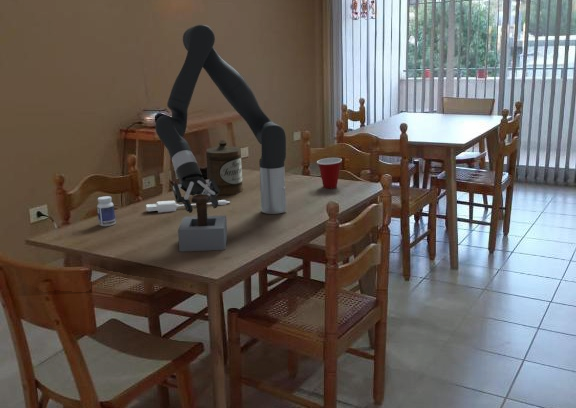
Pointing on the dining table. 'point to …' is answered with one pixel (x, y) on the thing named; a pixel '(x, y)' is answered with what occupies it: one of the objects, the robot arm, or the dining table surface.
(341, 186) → the dining table surface
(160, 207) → the charging cable
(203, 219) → the bolt
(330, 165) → the plastic cup
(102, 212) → the pill bottle
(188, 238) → the holder
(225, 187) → the wooden container
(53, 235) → the dining table surface
